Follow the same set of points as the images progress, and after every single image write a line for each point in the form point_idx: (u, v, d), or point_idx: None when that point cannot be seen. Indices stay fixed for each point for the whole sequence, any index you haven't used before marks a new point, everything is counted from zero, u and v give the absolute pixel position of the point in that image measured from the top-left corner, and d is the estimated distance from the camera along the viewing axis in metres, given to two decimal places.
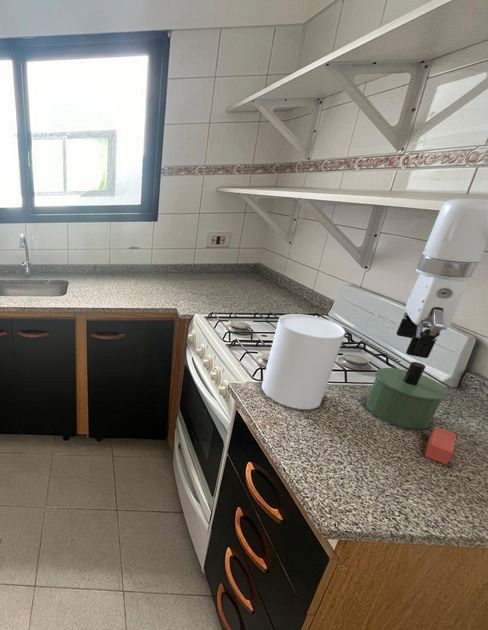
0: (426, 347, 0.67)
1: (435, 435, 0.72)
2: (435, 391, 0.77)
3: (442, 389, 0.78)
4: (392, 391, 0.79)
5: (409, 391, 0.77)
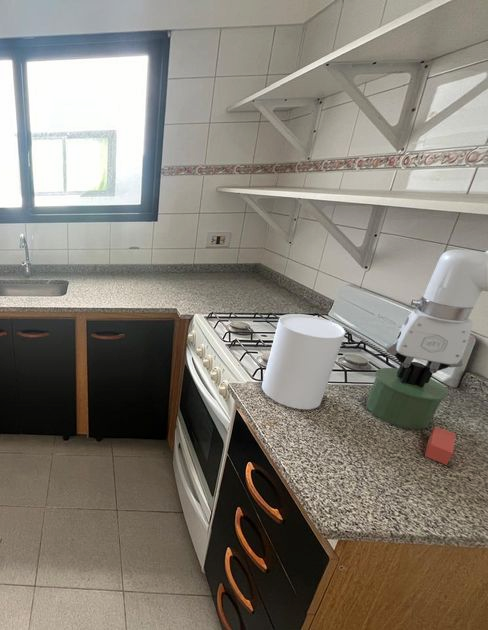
0: (400, 370, 0.80)
1: (435, 435, 0.72)
2: (435, 391, 0.77)
3: (442, 389, 0.78)
4: (392, 391, 0.79)
5: (409, 391, 0.77)
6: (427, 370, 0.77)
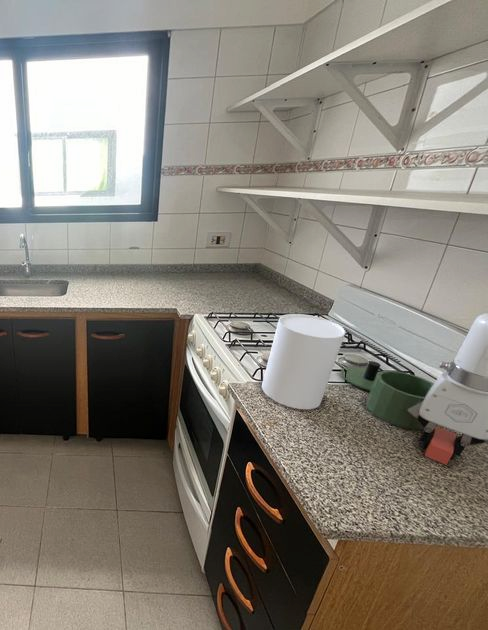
0: (422, 434, 0.74)
1: (435, 435, 0.72)
2: None
3: None
4: (392, 391, 0.79)
5: (366, 386, 0.92)
6: (458, 442, 0.69)
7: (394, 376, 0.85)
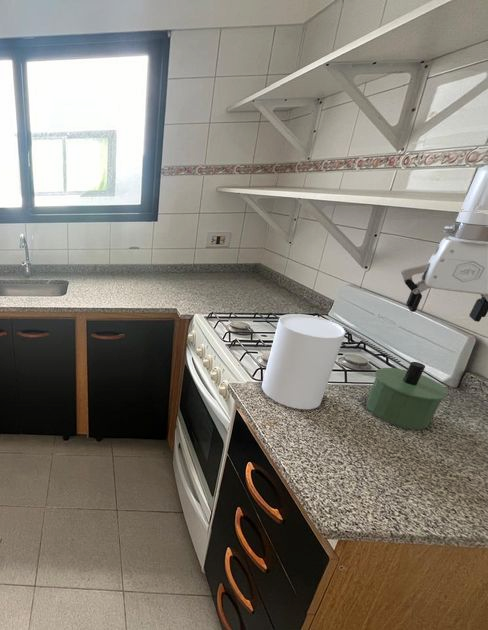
0: (410, 299, 0.75)
1: None
2: (434, 391, 0.77)
3: (442, 389, 0.78)
4: (392, 391, 0.79)
5: (409, 391, 0.77)
6: (485, 301, 0.69)
7: None
